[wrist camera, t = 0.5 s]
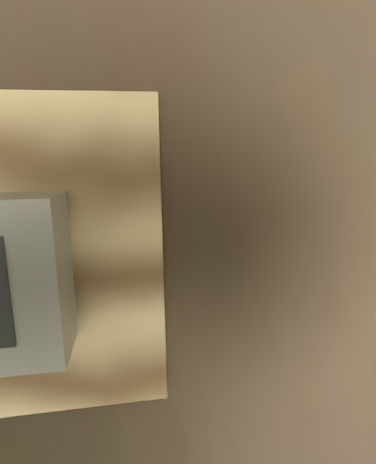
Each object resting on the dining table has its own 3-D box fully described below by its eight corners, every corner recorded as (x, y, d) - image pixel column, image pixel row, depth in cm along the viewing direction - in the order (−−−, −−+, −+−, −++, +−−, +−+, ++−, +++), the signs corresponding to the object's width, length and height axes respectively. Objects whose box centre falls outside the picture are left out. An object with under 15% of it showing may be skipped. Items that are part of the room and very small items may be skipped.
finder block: (78, 330, 20) (65, 372, 16) (-36, 340, 19) (-79, 387, 15) (66, 190, 19) (49, 198, 15) (-58, 194, 18) (-113, 203, 14)
